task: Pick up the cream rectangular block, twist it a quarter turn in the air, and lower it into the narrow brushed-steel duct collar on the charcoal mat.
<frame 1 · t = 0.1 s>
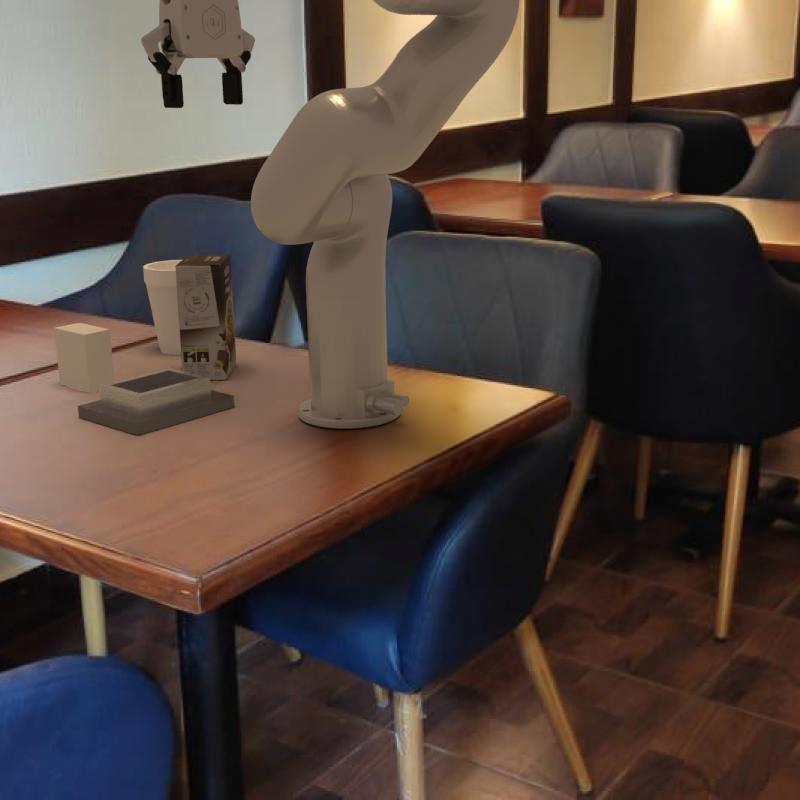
hand: (204, 105, 153), 37 cm above the table, tool pointing down, fingers open, 9 cm apart
cream rectangular block: (87, 386, 164), on the table
coffee box: (210, 373, 169), on the table
foam cup: (181, 351, 183), on the table
duct collar: (157, 412, 151), on the table
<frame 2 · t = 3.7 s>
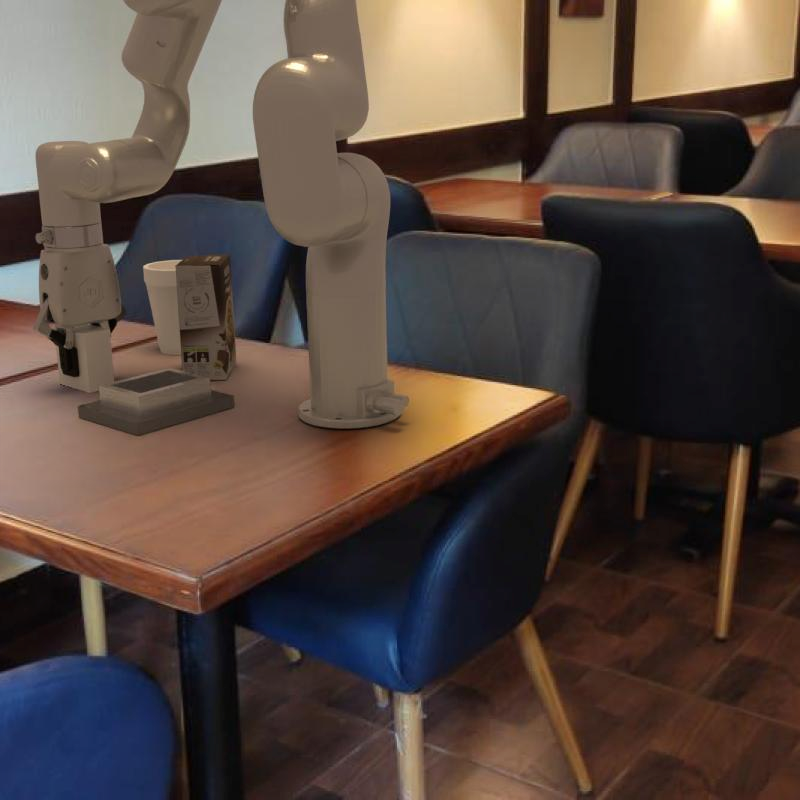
hand: (85, 370, 163), 2 cm above the table, tool pointing down, fingers closed on cream rectangular block, 4 cm apart
cream rectangular block: (87, 385, 164), on the table, touching gripper
everything else where it was.
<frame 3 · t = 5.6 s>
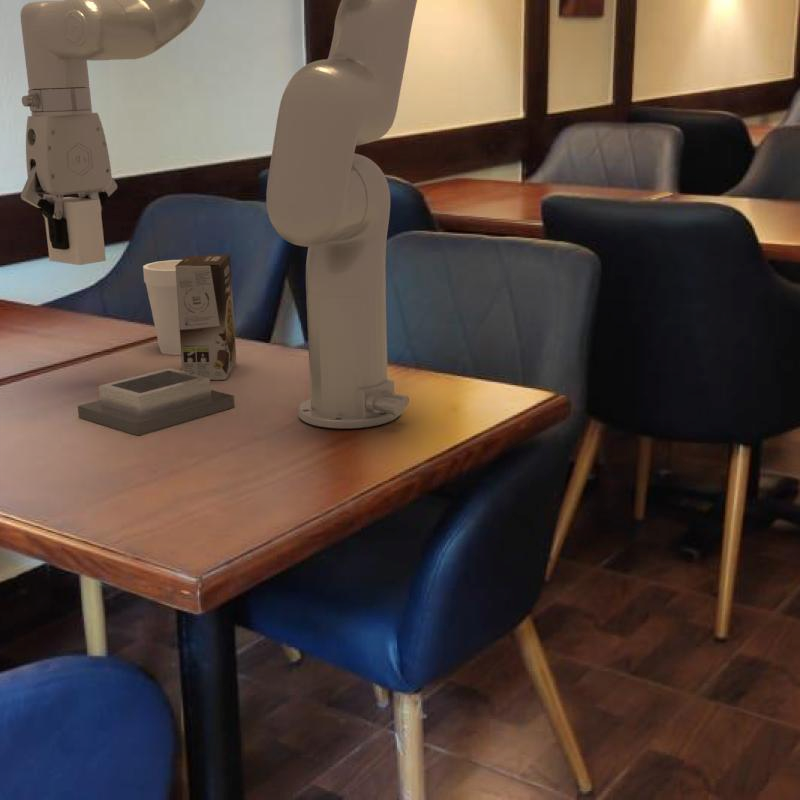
hand: (76, 244, 158), 19 cm above the table, tool pointing down, fingers closed on cream rectangular block, 4 cm apart
cream rectangular block: (77, 260, 159), point 17 cm above the table, touching gripper
everything else where it was.
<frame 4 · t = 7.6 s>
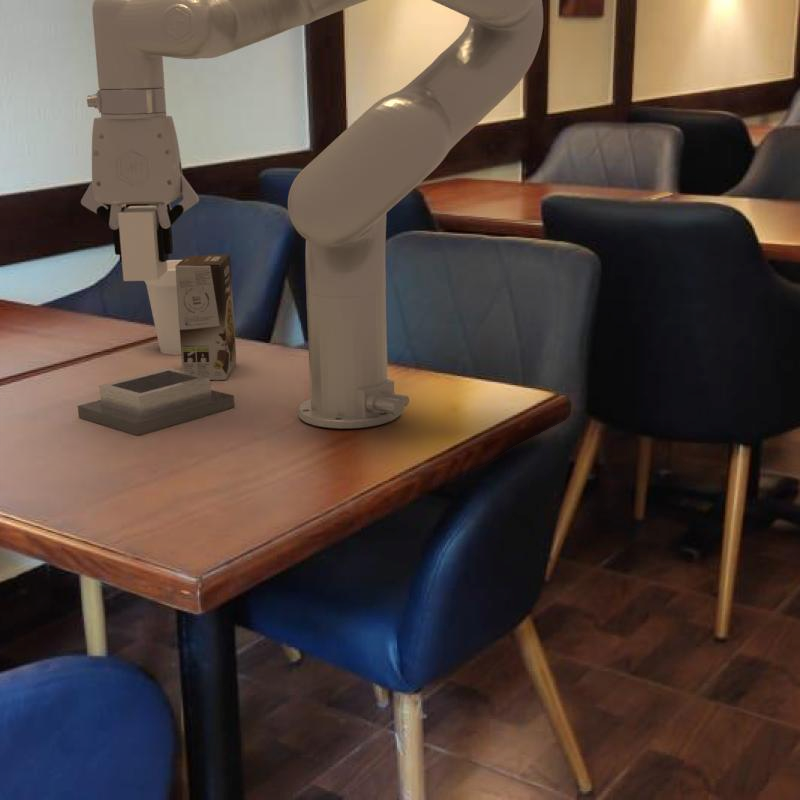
hand: (144, 258, 145), 19 cm above the table, tool pointing down, fingers closed on cream rectangular block, 4 cm apart
cream rectangular block: (146, 275, 146), point 17 cm above the table, touching gripper
everything else where it was.
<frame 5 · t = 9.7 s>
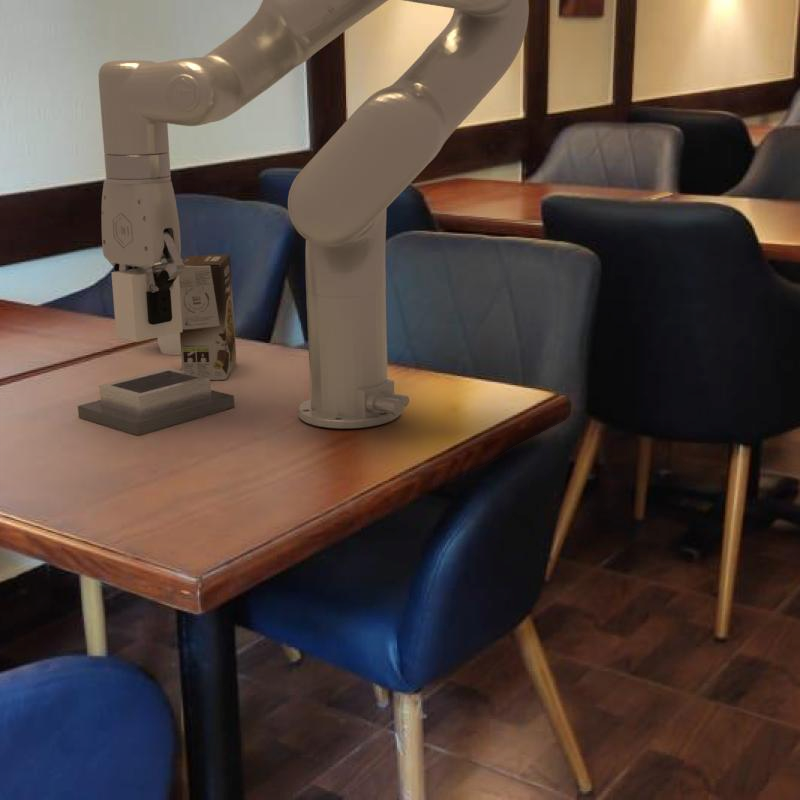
hand: (148, 318, 147), 12 cm above the table, tool pointing down, fingers closed on cream rectangular block, 4 cm apart
cream rectangular block: (149, 334, 148), point 10 cm above the table, touching gripper
everything else where it was.
when the fingers open (5 cm above the table, at t = 11.6 s): cream rectangular block drops 1 cm, resting on duct collar.
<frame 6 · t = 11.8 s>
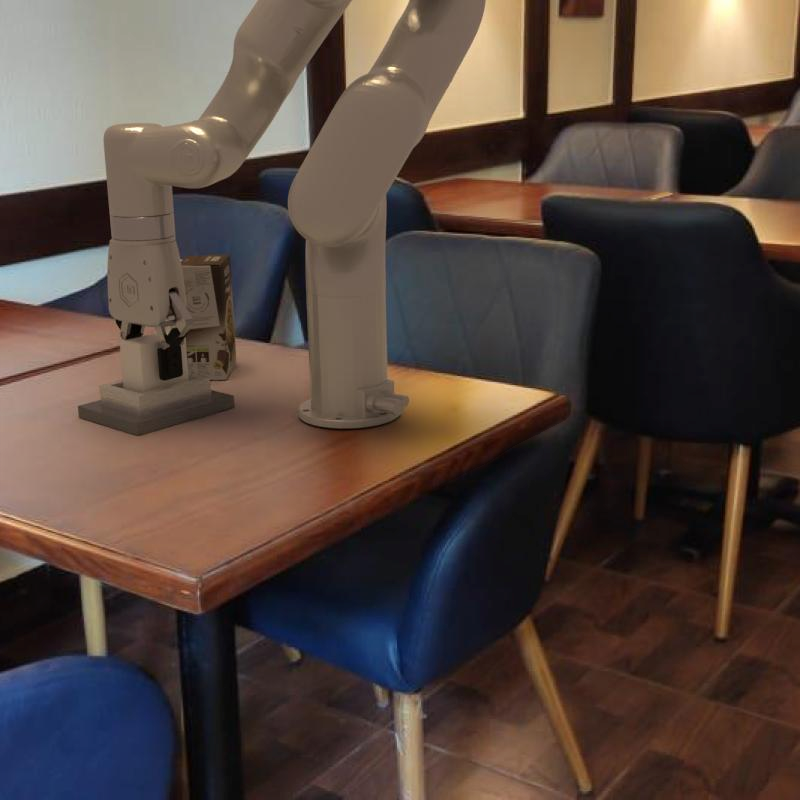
hand: (154, 372, 149), 5 cm above the table, tool pointing down, fingers open, 6 cm apart
cream rectangular block: (157, 400, 150), point 1 cm above the table, touching duct collar
everything else where it was.
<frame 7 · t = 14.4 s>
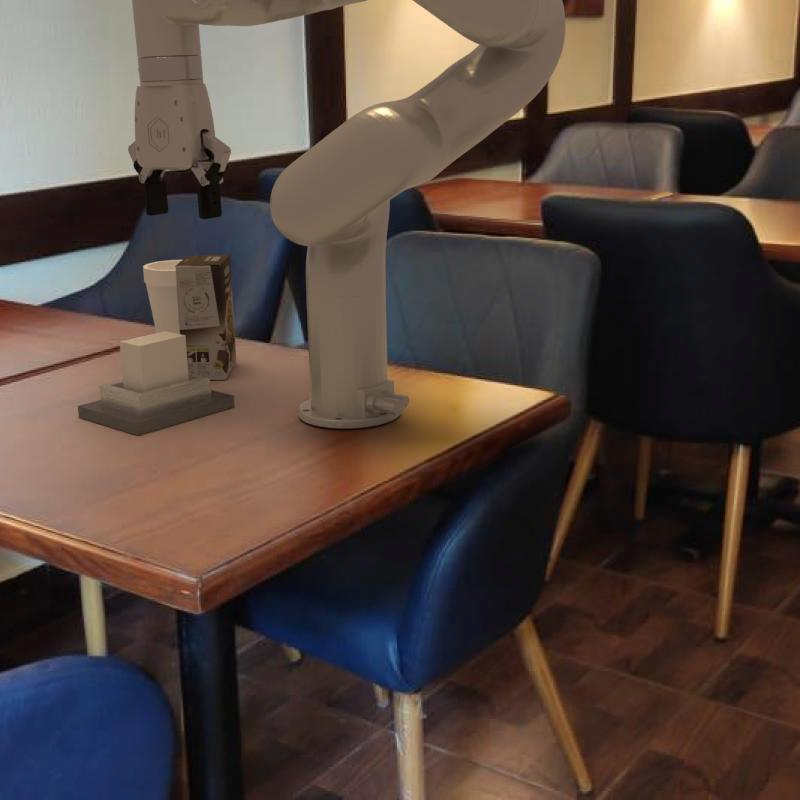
hand: (183, 216, 149), 24 cm above the table, tool pointing down, fingers open, 9 cm apart
nothing on the table moved.
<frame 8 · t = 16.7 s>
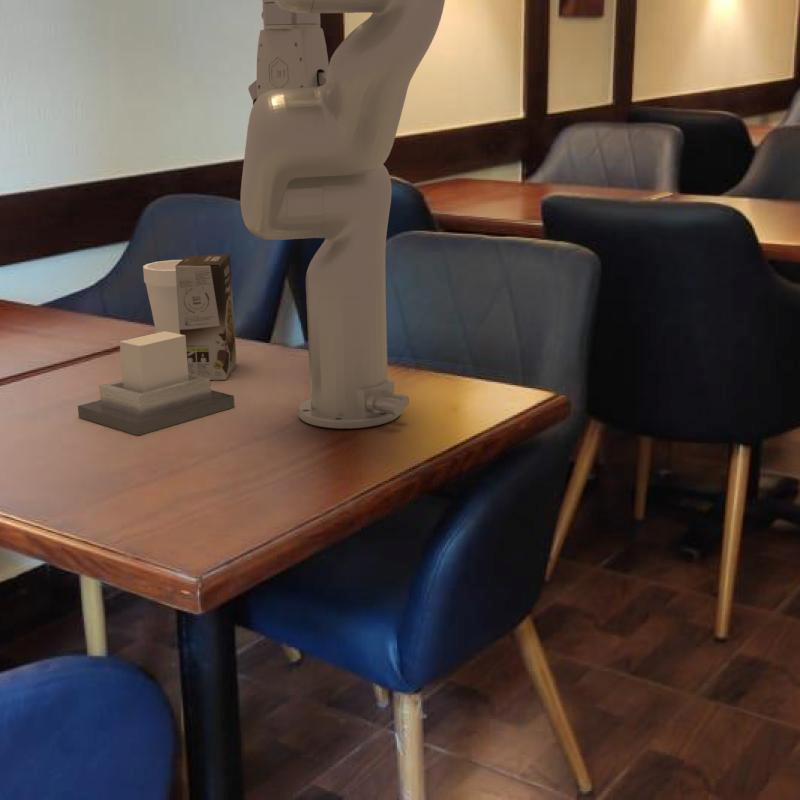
hand: (297, 149, 164), 30 cm above the table, tool pointing down, fingers open, 9 cm apart
nothing on the table moved.
at the end: cream rectangular block 0.1 cm off-centre on the duct collar, point 1.5 cm above the duct collar's base; cream rectangular block tilted 0°; the gripper is holding nothing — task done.
